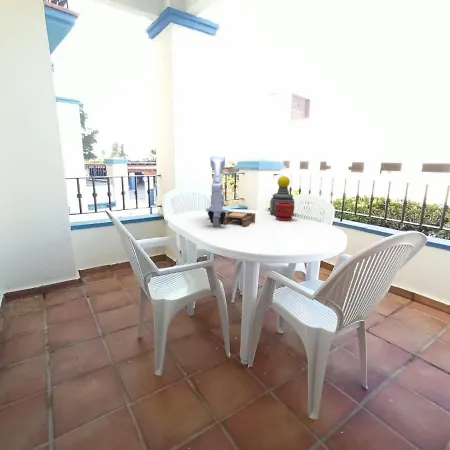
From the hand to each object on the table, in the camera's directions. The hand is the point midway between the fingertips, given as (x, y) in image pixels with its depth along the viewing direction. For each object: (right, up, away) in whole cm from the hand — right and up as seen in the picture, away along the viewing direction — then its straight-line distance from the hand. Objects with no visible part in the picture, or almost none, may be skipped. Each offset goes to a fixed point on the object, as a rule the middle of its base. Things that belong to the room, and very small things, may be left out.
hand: (216, 223), depth 175 cm
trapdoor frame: (+14, 0, +10) cm, 17 cm away
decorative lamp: (+50, +7, +41) cm, 65 cm away
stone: (0, -2, 0) cm, 2 cm away
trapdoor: (+14, +5, +9) cm, 17 cm away
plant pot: (+48, +3, +23) cm, 53 cm away
